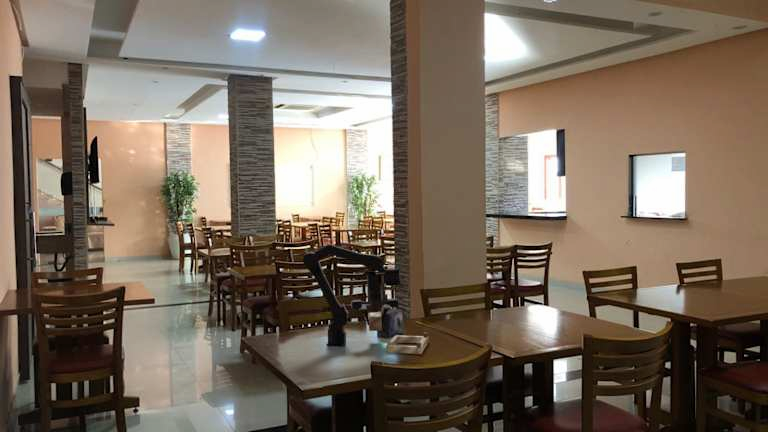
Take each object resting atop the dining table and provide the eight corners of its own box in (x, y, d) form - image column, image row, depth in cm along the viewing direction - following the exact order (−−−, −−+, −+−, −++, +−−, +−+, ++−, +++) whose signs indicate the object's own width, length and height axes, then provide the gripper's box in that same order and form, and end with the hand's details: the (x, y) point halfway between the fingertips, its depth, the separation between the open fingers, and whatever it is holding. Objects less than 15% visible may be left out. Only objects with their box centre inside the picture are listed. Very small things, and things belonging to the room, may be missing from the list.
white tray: (385, 352, 234) (385, 342, 234) (395, 341, 252) (395, 331, 252) (421, 354, 231) (421, 343, 231) (428, 342, 249) (428, 332, 249)
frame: (369, 330, 243) (368, 317, 243) (368, 324, 255) (368, 312, 255) (381, 330, 243) (381, 317, 243) (380, 324, 255) (380, 311, 255)
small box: (388, 338, 257) (388, 313, 257) (376, 336, 261) (375, 311, 261) (403, 333, 266) (403, 309, 265) (391, 332, 270) (390, 308, 269)
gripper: (352, 290, 240) (353, 330, 240) (400, 288, 242) (401, 328, 243) (350, 286, 251) (351, 324, 251) (396, 284, 253) (396, 322, 254)
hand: (375, 324), depth 249 cm, fingers closed on frame, 5 cm apart
